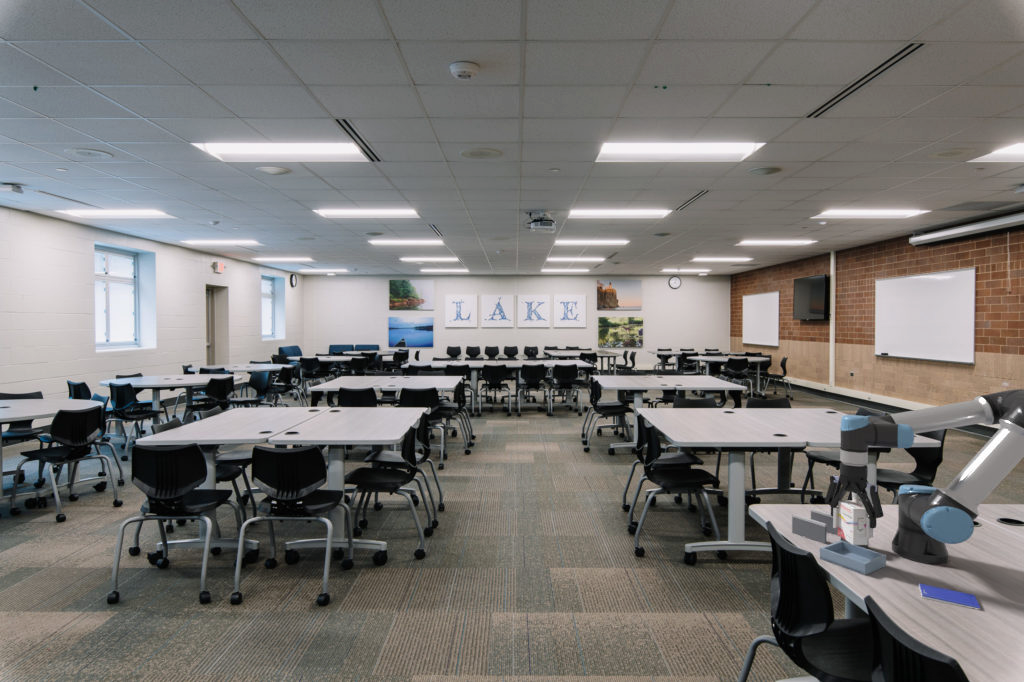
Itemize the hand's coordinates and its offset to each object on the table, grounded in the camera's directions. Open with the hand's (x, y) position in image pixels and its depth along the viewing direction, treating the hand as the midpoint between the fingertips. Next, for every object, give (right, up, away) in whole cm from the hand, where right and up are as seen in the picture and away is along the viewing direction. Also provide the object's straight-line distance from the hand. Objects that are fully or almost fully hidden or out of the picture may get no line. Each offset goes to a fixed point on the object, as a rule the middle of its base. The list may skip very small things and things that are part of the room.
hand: (852, 532), depth 171 cm
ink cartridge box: (0, -3, 0) cm, 3 cm away
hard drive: (+12, -11, -23) cm, 28 cm away
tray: (0, -10, 0) cm, 10 cm away
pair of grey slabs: (+3, -9, +24) cm, 26 cm away
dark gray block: (+8, -10, +12) cm, 17 cm away
